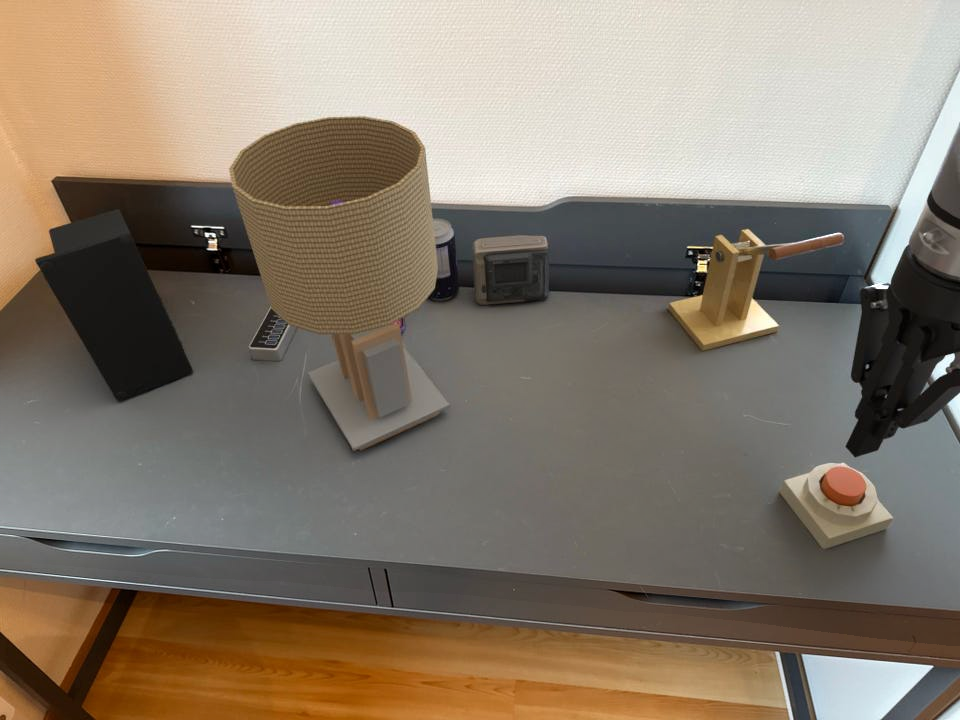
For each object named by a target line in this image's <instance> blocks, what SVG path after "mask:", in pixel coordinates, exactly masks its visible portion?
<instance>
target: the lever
mask: <svg viewBox="0 0 960 720" xmlns="http://www.w3.org/2000/svg"><path fill="white" fill-rule="evenodd" d="M844 242H845V236H844V234H842V232H836V233H831V234H827V235H822V236H818V237H814V238H810V239H805V240H801V241H796V242H787V243H775V244H767V245H766V244H765V245H764V246H753V247H750V241H745V242H739V241H738V242H737V241H736V242H732V243H731V244H732V245H733V246H734V247H735V248H736V249H737V250H738V251H739V256H738V260H737V262H741V261H745V260H749V259H752V255H763V254H764V255H768V257H769V259H770V260H771V261H772V262H773V261H775V262H776V261H778V260H782V259H783V260H784V259H787V258H791V257H797V256H800V255H805V254H808V253H812V252H816V251H821V250H824V249H829V248H833V247H837V246H841V245H843V244H844Z"/></svg>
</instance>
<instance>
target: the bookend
mask: <svg viewBox="0 0 960 720" xmlns="http://www.w3.org/2000/svg"><path fill="white" fill-rule="evenodd" d="M48 233H49V238H50V242H51V244H52V248H53V253H50V254H47V255H43V256H38V257H37V258H35V259H34V261H35V264H36V265H37V267H38V269H39V271H41V273H42V276H43V278H44V280H45V281H46V282H47V284H48V286H49V289H50V290H51V291H52V293H53V294H54V297H56V299H57V301H58V304H59V305H60V306H61V308H62V310H63V311H64V313H65V315H66V317H67V318H68V320H69V322H70V323H71V325H72V326H73V329H74V330H75V332H76V333H77V335H78V337H79V339H80V340H81V342H82V344H83V345H84V347H85V349H86V351H87V352H88V354H89V356H90V358H91V359H92V361H93V363H94V364H95V366H96V367H97V369H98V371H99V373H100V375H101V376H102V379H104V382H105V383H106V385H107V387H108V388H109V390H110V392H111V393H112V395H113V397H114V399H115V400H116V402H120V401H123V400H126V399H128V398H130V397H133V396H136V395H138V394H140V393H143V392H146V391H148V390H151V389H154V388H155V387H158V386H161V385H163V384H165V383H169V382H172V381H173V380H176V379H178V378H181V377H183V376H186V375H189V374H190V373H193V372H194V370H193V368H192V365H191V363H190V361H189V358H188V357H187V355H186V352H185V348H184V346H183V342H182V341H181V339H180V338H179V334H178V332H177V331H176V327H174V324H173V321H172V320H171V318H170V316H169V314H168V312H167V310H166V307H165V306H164V303H163V301H162V298H161V297H160V295H159V293H158V290H157V288H156V286H155V284H154V281H153V280H152V278H151V276H150V274H149V271H148V269H147V266H146V264H145V263H144V260H143V258H142V256H141V254H140V251H139V249H138V247H137V245H136V242H135V241H134V238H133V236H132V233H131V231H130V229H129V228H128V225H127V223H126V220H125V219H124V217H123V214H122V212H121V210H120V209H118V208H117V209H113V210H110V211H106V212H103V213H101V214H96V215H94V216H90V217H86V218H83V219H80V220H76V221H73V222H69V223H66V224H62V225H59V226H55V227H53V228H50V229H49V230H48Z"/></svg>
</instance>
